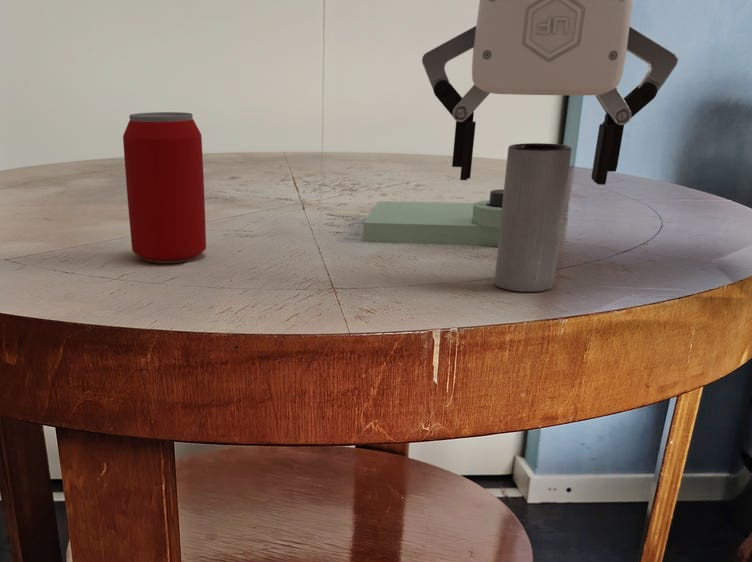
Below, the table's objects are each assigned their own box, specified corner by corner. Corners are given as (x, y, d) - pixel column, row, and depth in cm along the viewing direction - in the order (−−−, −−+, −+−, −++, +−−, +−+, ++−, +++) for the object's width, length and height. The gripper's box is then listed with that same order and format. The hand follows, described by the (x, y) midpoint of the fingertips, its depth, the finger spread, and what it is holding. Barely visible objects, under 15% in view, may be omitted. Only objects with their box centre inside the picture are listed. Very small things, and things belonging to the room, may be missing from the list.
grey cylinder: (563, 285, 71) (583, 145, 66) (534, 295, 68) (552, 150, 64) (513, 276, 74) (528, 141, 69) (483, 286, 71) (496, 146, 66)
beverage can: (184, 247, 86) (177, 110, 80) (220, 259, 81) (215, 114, 75) (120, 255, 83) (107, 114, 77) (153, 269, 78) (142, 118, 72)
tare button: (518, 206, 86) (520, 189, 85) (519, 211, 83) (521, 194, 83) (488, 206, 86) (490, 189, 86) (488, 210, 84) (490, 193, 83)
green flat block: (526, 223, 95) (530, 188, 94) (532, 249, 83) (537, 210, 82) (377, 219, 98) (378, 185, 97) (361, 244, 86) (363, 206, 85)
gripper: (430, -99, 58) (410, 183, 65) (719, -106, 54) (661, 191, 62) (436, -84, 64) (417, 170, 72) (694, -90, 61) (645, 177, 69)
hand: (530, 180), depth 67 cm, fingers open, 9 cm apart
